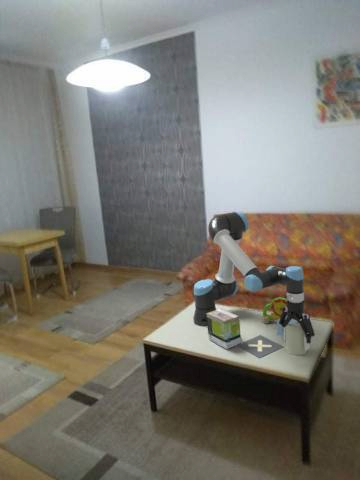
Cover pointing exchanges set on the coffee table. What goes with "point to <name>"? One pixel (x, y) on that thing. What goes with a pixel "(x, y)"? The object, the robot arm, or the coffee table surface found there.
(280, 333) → the blue cube
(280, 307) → the toy lion
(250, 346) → the letter mat
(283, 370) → the coffee table surface
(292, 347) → the can
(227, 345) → the tea box
